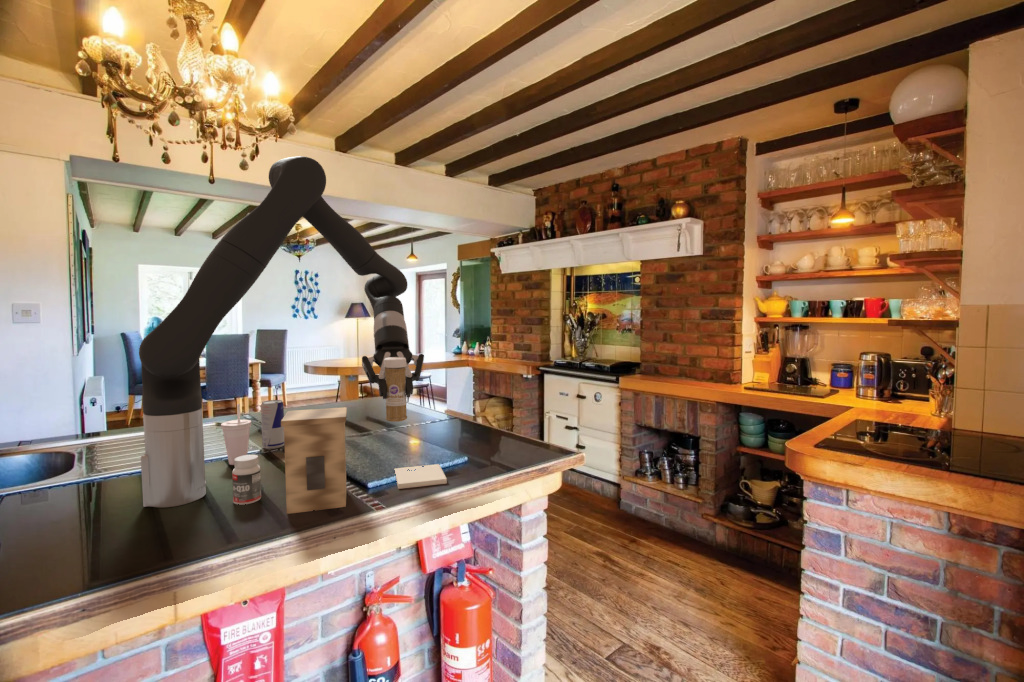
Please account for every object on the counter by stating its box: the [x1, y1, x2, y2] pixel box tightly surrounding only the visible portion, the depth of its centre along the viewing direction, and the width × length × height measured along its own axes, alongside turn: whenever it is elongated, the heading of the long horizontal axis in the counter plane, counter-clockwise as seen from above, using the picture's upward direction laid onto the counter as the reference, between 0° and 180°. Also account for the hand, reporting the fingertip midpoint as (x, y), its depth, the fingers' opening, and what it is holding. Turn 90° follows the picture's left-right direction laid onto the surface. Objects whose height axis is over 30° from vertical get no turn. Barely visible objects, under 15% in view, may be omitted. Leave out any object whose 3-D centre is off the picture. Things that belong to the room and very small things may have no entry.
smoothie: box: [220, 403, 252, 466], centre depth 114 cm, size 6×6×14 cm
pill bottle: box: [231, 454, 262, 506], centre depth 92 cm, size 5×5×8 cm
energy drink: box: [260, 399, 285, 450], centre depth 128 cm, size 5×5×12 cm
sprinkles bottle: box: [384, 357, 408, 423], centre depth 103 cm, size 5×5×13 cm
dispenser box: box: [281, 406, 348, 515], centre depth 91 cm, size 11×9×17 cm
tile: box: [393, 463, 448, 490], centre depth 104 cm, size 10×10×1 cm
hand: (396, 395), depth 101 cm, fingers closed on sprinkles bottle, 4 cm apart
